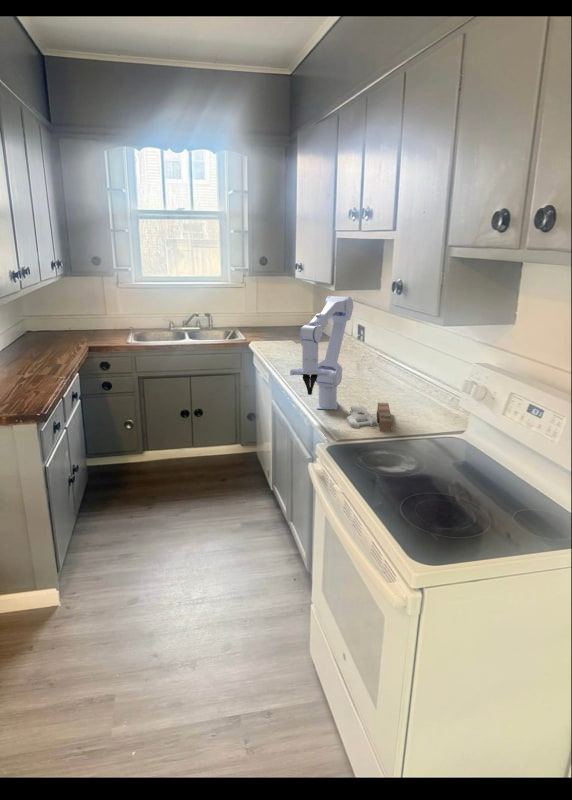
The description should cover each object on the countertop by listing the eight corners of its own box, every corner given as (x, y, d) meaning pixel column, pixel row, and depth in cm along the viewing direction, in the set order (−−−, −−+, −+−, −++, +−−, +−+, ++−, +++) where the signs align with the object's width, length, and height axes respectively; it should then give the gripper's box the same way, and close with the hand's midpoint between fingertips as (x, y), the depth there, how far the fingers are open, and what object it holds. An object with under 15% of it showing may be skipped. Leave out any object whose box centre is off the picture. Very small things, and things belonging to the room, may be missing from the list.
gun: (341, 404, 202) (366, 403, 203) (340, 412, 203) (365, 411, 204) (352, 422, 185) (379, 421, 186) (351, 431, 186) (379, 430, 188)
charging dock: (375, 412, 203) (376, 401, 201) (387, 412, 202) (388, 401, 201) (378, 431, 184) (378, 419, 182) (391, 431, 183) (392, 419, 182)
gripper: (289, 360, 187) (289, 396, 191) (329, 361, 185) (329, 397, 190) (291, 356, 194) (291, 391, 198) (330, 356, 192) (329, 392, 196)
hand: (310, 394), depth 194 cm, fingers closed
